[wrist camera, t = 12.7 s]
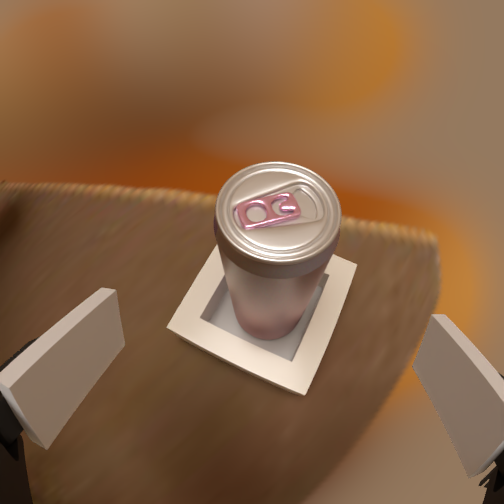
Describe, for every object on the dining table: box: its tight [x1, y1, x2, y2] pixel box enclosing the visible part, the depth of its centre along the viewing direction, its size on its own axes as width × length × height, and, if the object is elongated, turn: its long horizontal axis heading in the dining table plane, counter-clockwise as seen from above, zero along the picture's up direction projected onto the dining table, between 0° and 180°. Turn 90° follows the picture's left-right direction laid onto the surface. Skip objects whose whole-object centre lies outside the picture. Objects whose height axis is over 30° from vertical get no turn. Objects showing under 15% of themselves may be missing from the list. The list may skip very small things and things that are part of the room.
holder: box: [167, 245, 357, 395], centre depth 25 cm, size 12×12×4 cm
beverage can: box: [214, 161, 342, 340], centre depth 19 cm, size 6×6×15 cm
